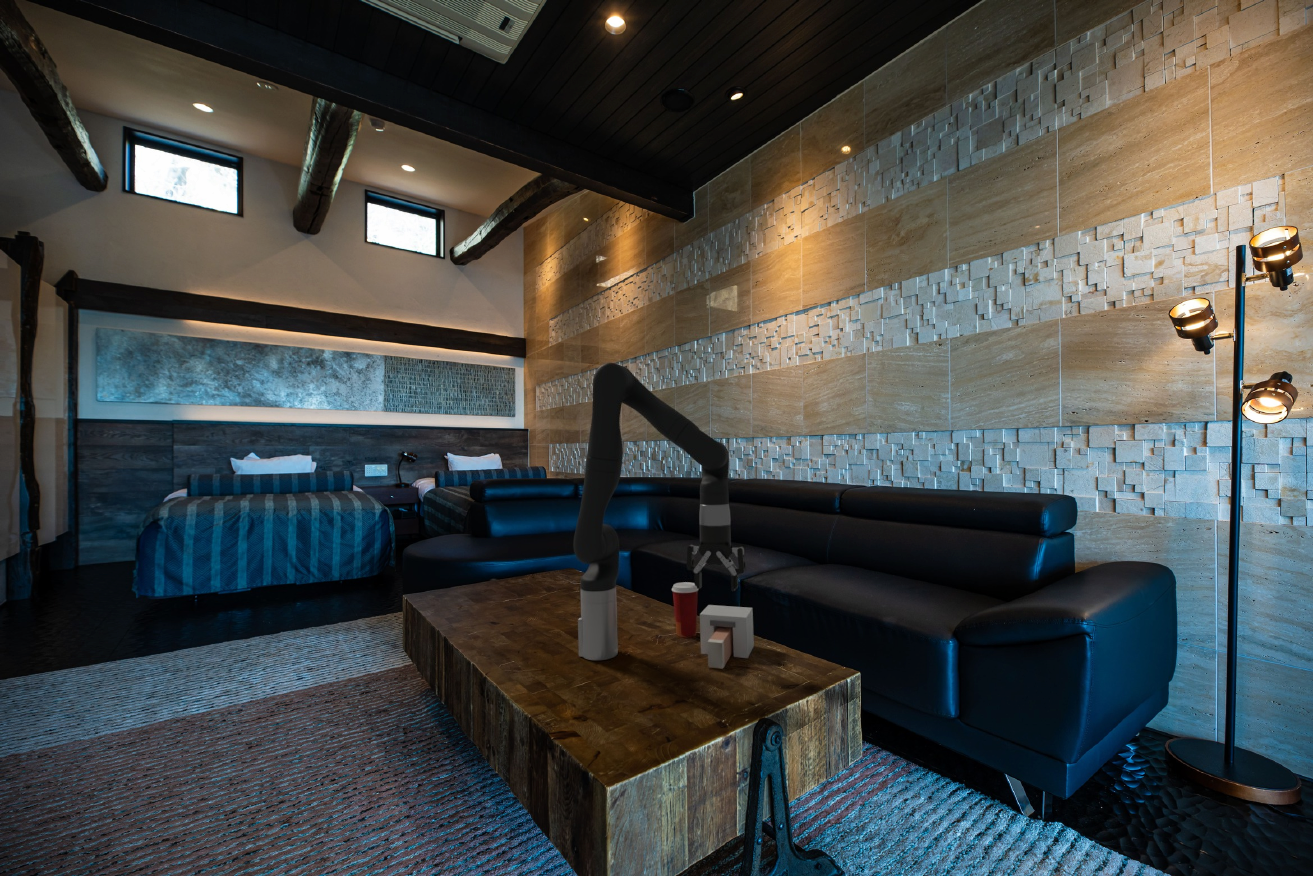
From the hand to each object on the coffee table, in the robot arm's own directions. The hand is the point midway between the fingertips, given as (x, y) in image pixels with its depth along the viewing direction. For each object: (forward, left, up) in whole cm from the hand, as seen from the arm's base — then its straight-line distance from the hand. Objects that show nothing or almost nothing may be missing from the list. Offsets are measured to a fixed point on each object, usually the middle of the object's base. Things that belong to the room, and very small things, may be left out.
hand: (716, 589), depth 132 cm
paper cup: (-14, +19, -18) cm, 30 cm away
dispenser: (0, +10, -18) cm, 21 cm away
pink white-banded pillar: (0, +5, -18) cm, 18 cm away
